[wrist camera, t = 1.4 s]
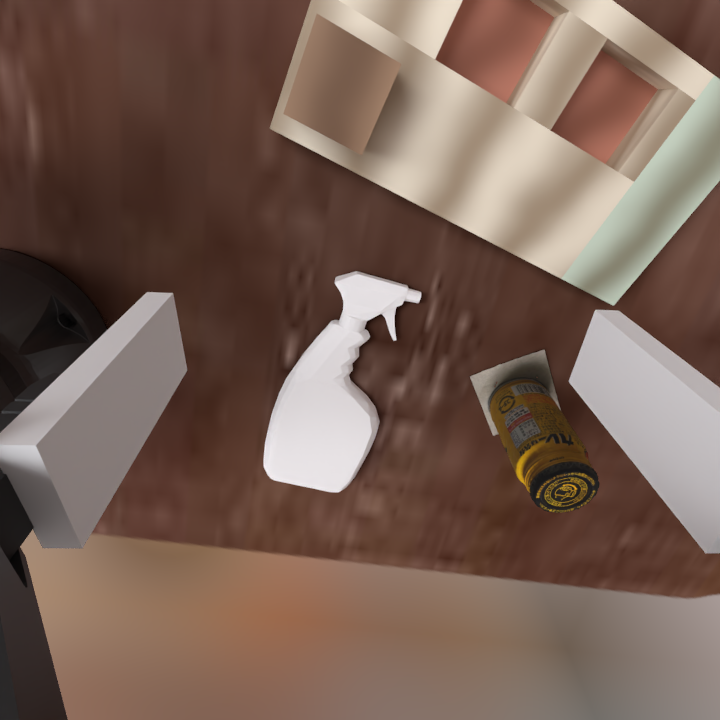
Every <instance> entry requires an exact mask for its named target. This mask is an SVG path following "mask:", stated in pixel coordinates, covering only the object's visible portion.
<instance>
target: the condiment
mask: <svg viewBox="0 0 720 720" xmlns="http://www.w3.org/2000/svg"><path fill="white" fill-rule="evenodd" d="M536 377H538V378H536ZM470 378H471V381H472V383H473V386H474V389H475V391H476V394H477V396H478V399H479V401H480V404H481V406H482V409H483V411H484V414H485V416H486V419H487V421H488V424H489V426H490V429H491V431H492V434H493V436H495V435H497V434H499V435H500V438H501V441H502V444H503V445H504V448H505V450H506V452H507V454H508V456H509V459H510V461H511V463H512V466H513V469H514V471H515V473H516V475H517V477H518V479H519V480H520V481H521V482H522V483H523V484H525V486H526V488H527V490H528V491H529V492H530V496H531V498H532V500H533V501H534V502H535V504H536V505H537V506H538V507H540V508H542V509H543V510H545V511H547V512H556V513H559V512H569V511H573V510H575V509H579V508H580V507H582V506H584V505H585V504H587V503H588V502H589V501H591V499H592V498H593V497H594V496H595V495H596V493H597V491H598V488H599V481H598V476H597V473H596V472H595V471H594V469H593V468H592V466H591V464H590V463H589V460H588V454H587V451H586V448H585V446H584V445H583V443H582V442H581V440H580V439H579V437H578V436H577V434H576V433H575V432H574V430H573V429H572V427H571V426H570V424H569V423H568V421H567V419H566V418H565V417H564V415H563V413H562V412H561V409H560V406H559V402H558V399H557V395H556V392H555V388H554V384H553V380H552V376H551V373H550V369H549V365H548V361H547V357H546V354H545V350H541V351H539V352H536V353H531V354H529V355H526V356H523V357H521V358H517V359H514V360H512V361H509V362H506V363H504V364H500V365H498V366H496V367H493V368H491V369H488V370H485V371H482V372H480V373H478V374H475V375H472V376H470ZM497 381H498V383H497V384H495V383H496V382H497ZM495 385H496V387H495V388H494V386H495Z"/></svg>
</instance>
